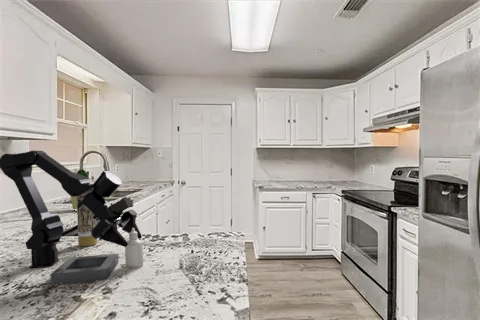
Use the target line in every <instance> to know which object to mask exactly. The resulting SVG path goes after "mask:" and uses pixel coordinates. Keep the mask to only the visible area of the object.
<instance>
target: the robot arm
mask: <svg viewBox="0 0 480 320" xmlns="http://www.w3.org/2000/svg"><path fill="white" fill-rule="evenodd" d="M33 166H36V167H37V168H39V169H41V170H42V171H43V172H45V173H46V174H47V175H49V176H51V177H52V178H53V179H55V180H56V181H58V182H59V184H60V185H61V188H62V189H63V190H64V192H66V193H67V194H68V195H69V196H70V197H71V196H73V197H76V196H81V195H85V196H84V197H83V199H79V200H78V205H77V208H82V207H85V206H86V207H87V208H88V209H89V210H90V211H91V212H92V213H93V214H94V216H93V218H94V220H95V219H96V220H97V219H98V222H97V223H96V224H97V225H96V226H95V227H94V228H93V229H92V230H91V235H92V236H93V237H94V238H95V239H97V240H98V239H99V241H106V242H109V243H112V244H115V245H119V246H120V247H121V246H122V247H124V248H125V247H126V246H127V245H128V243H127V242H126V241H127V240H126V239H125V237H124V236H123V235H122V234H121V233H120V232H119V230H118V227H119V228H121V230H122V231H123V232H125V233H128V234H129V233H130V232H131V231H132V228H134V229H135V231H136V232H137V236H138V238H137V239H138V240H140V239H142V238H143V236H142V234H141V233H142V232H141V231H140V229H139V227H138V225H137V223H136V220H137V217H138V216H137V215H138V213H137V212H136V211H135V210H134V209H130V208H132V207H134V198H132V197H131V196H128V195H126V196H124V197H122V198H121V199H120V200H118V201H116V202H111V201H110V202H109V201H108V200H107V198H111V196H113V194H114V193H115V192H116V191H117V190H118V189H119V187H120V186H121V185H122V183H123V182H122V180H121V178H120V177H119V176H117V175H116V174H114V173H111V172H110V171H108V170H102V172H101V173H100V175H99V177H98V178H97V179H95V180H94V181H93V180H92V179H91V178H89V177H88V178H87V177H85V176H83V175H80V174H77V173H76V172H74V171H72V170H70V169H68V168H67V167H65V166H64V165H63V164H61V163H60V162H58V161H57V160H56V159H54V158H52V157H51V156H50V155H49V154H47V153H46V152H45V151H43V150H29V151H26V152H20V153H19V152H18V153H5V154H3V155H1V157H0V170H1V171H2V173H3V174H4V175H5V176H6V177H8V178H9V179H10V180H12V181H13V182H14V184H15V186H16V188H17V190H18V193H19V194H20V197H21V199H22V200H23V203H24V205H25V206H26V209H27V211H28V213H29V215H30V217H31V221H32V222H31V226H30V231H31V233H32V235H31V236H30V237H29V238H28V239H27V241H25V247H26V249H27V250H30V252H31V254H30V255H31V265H29V266H28V267H29V269H35V268H45V267H47V268H48V267H51V266H53V265H54V264H55V263H57V262H58V261H59V260H60V259H59V249H58V247H57V243H58V244H59V243H60V241H61V237H62V236H63V234H64V231H65V230H64V226H65V225H64V223H63V222H62V221H61V220H62V219H61V218H60V215H59V214H55V215H53V214H51V213H50V212H49V210H48V208H47V206H46V204H45V202H44V199H43V197H42V195H41V193H40V192H39V189H38V188H37V185H36V183H35V180H34V179H33V177H32V173H33V172H32V170H33ZM91 191H92V192H91ZM128 209H129V210H128Z"/></svg>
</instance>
